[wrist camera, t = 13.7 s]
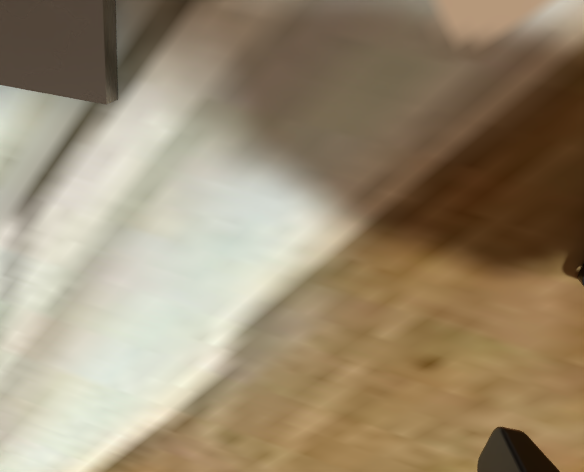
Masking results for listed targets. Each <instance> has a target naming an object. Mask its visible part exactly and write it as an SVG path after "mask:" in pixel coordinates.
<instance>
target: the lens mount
mask: <svg viewBox="0 0 584 472" xmlns="http://www.w3.org/2000/svg"><path fill="white" fill-rule="evenodd" d="M0 85H5V86H10V87H15V88H21V89H26V90H31V91H37V92H42V93H47V94H53V95H58V96H64V97H69V98H74V99H80V100H85V101H90V102H96V103H101V104H109V103H111V102H113V101H116V100H118V86H117V47H116V8H115V0H0Z"/></svg>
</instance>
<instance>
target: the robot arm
mask: <svg viewBox="0 0 584 472" xmlns="http://www.w3.org/2000/svg"><path fill="white" fill-rule="evenodd" d="M578 278H579V281H580V282H581V283H582V285H583V286H584V265H583V266H582V268H581V270H580V272H579V275H578ZM477 470H478V472H560V471H559V470H558V469H557V468H556V467H555V466H554V465H553V463H552V462H551V461H550V460H549V459H548V458H547V457H546V456H545V455H544V454H543V452H542V451H541V450H540V449H539V448H538V447H537V446H536V445H535V444H534V442H533V441H532V440H531V439H530V438H529V437H528V436H527V435H526V434H525V433H524V432H522V431H520V430H515V429H510V428H505V427H497V428H496V429H494V431H493V432H492V434H491V436H490V438H489V440H488V442H487V443H486V445H485V447H484V449H483V451H482V453H481V455H480V457H479V460H478V469H477Z"/></svg>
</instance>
